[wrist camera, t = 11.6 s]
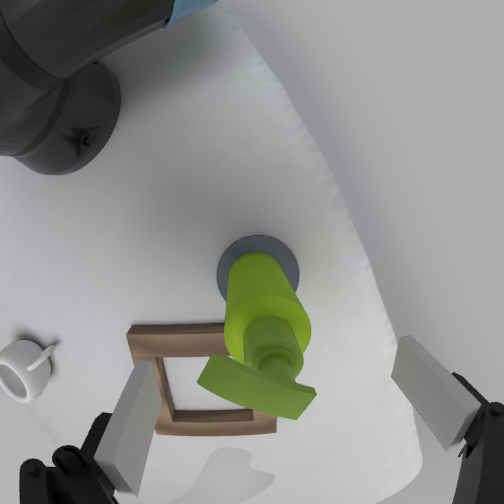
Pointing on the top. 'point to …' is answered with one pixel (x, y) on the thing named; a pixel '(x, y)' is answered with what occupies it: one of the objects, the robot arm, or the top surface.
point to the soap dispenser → (261, 341)
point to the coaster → (262, 246)
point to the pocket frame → (169, 420)
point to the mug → (24, 370)
